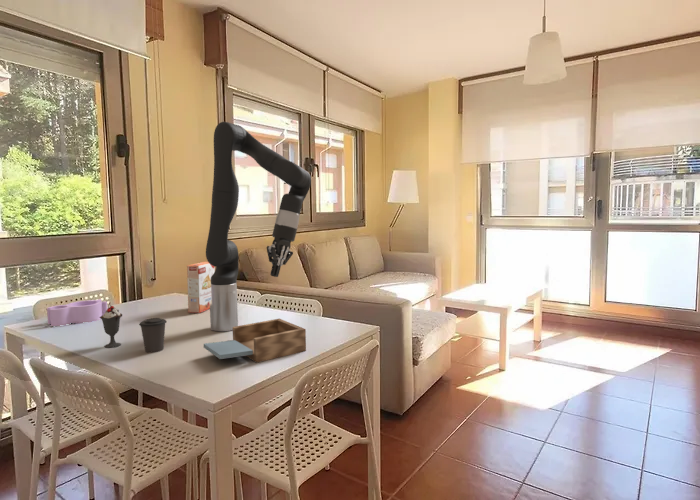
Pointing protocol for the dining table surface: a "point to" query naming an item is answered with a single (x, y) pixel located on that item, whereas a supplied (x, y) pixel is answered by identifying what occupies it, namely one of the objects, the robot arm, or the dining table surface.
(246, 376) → the dining table surface
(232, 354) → the flat rectangular panel
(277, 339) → the open wooden box
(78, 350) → the dining table surface
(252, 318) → the dining table surface
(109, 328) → the sundae
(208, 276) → the cracker box
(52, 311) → the purple double bowl
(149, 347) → the coffee cup
